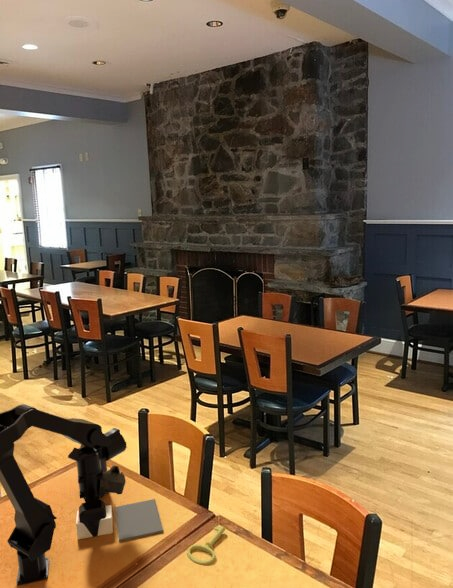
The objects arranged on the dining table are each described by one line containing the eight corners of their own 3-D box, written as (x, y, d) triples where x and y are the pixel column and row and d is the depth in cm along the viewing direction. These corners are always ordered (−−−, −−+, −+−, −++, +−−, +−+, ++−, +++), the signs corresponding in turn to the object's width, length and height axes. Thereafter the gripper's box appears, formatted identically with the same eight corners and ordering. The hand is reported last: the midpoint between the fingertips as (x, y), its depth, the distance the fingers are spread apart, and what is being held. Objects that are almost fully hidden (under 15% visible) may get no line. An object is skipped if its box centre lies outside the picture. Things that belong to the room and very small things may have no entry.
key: (226, 532, 123) (226, 525, 122) (213, 568, 111) (212, 559, 111) (199, 529, 125) (198, 521, 124) (183, 563, 113) (182, 555, 113)
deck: (112, 533, 124) (111, 517, 123) (77, 540, 122) (75, 523, 121) (112, 520, 129) (111, 504, 128) (79, 526, 127) (77, 509, 126)
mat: (163, 532, 123) (163, 529, 123) (119, 541, 120) (118, 539, 120) (155, 500, 137) (155, 498, 136) (115, 508, 134) (114, 506, 133)
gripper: (125, 482, 116) (130, 541, 119) (119, 446, 133) (123, 498, 136) (76, 491, 113) (82, 551, 115) (76, 453, 130) (82, 506, 133)
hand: (94, 524), depth 125 cm, fingers open, 9 cm apart
